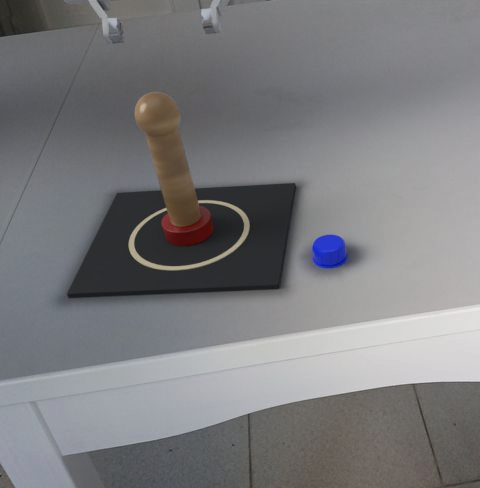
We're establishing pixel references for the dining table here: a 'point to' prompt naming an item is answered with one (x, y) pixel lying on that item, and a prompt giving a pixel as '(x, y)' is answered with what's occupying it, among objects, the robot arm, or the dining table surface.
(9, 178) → the dining table surface
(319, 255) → the bottle cap
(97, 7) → the robot arm
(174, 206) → the stamp
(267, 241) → the mat
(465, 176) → the dining table surface
